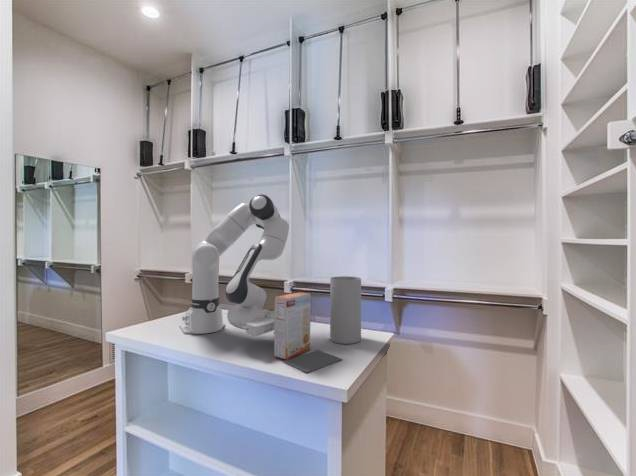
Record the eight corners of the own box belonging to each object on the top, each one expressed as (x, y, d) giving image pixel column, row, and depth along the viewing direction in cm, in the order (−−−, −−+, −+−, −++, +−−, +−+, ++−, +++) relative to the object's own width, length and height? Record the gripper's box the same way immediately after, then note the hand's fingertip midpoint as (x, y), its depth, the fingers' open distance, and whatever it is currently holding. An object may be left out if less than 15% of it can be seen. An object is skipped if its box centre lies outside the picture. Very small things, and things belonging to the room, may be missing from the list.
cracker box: (297, 346, 123) (299, 291, 123) (310, 350, 119) (312, 293, 120) (272, 356, 111) (274, 295, 112) (285, 360, 108) (287, 297, 108)
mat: (283, 362, 108) (283, 361, 108) (318, 350, 119) (318, 349, 119) (306, 373, 99) (306, 372, 99) (342, 360, 110) (342, 358, 110)
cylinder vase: (349, 347, 123) (349, 281, 123) (323, 340, 131) (324, 278, 131) (366, 339, 132) (367, 278, 132) (342, 333, 140) (342, 275, 140)
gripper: (238, 318, 117) (265, 324, 109) (277, 308, 133) (303, 313, 125) (238, 336, 117) (265, 343, 109) (277, 323, 134) (303, 329, 125)
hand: (286, 327), depth 117 cm, fingers closed
